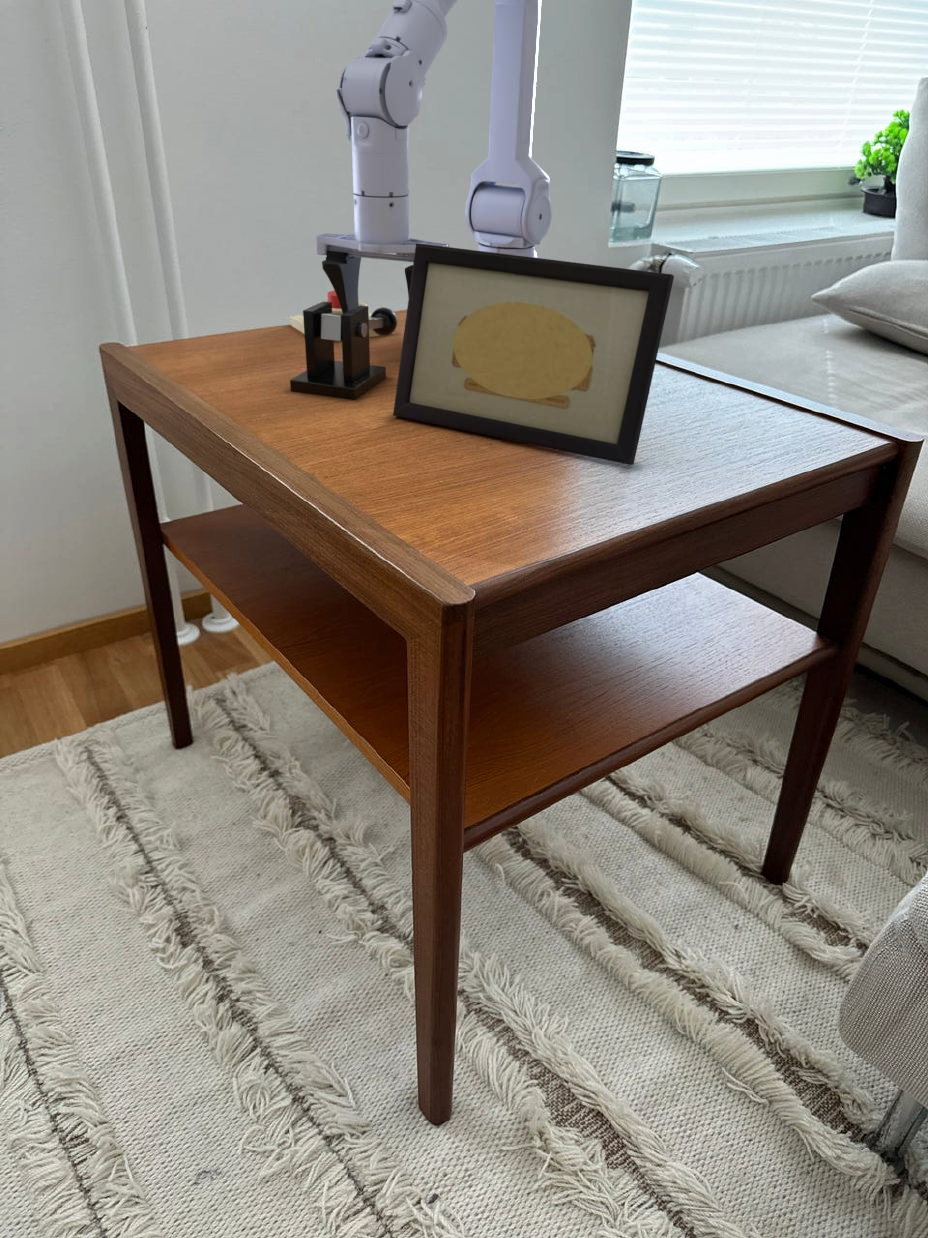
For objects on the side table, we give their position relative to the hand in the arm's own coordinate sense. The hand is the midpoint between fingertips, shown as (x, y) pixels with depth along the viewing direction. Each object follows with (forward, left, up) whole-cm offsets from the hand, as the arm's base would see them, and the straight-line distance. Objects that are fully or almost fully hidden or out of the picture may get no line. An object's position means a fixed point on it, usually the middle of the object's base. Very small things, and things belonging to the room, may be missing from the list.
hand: (383, 328), depth 99 cm
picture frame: (+17, +21, -3) cm, 27 cm away
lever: (+6, 0, 0) cm, 6 cm away
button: (-8, -9, 0) cm, 12 cm away
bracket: (+12, 0, -3) cm, 12 cm away
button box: (-8, -9, -3) cm, 13 cm away
